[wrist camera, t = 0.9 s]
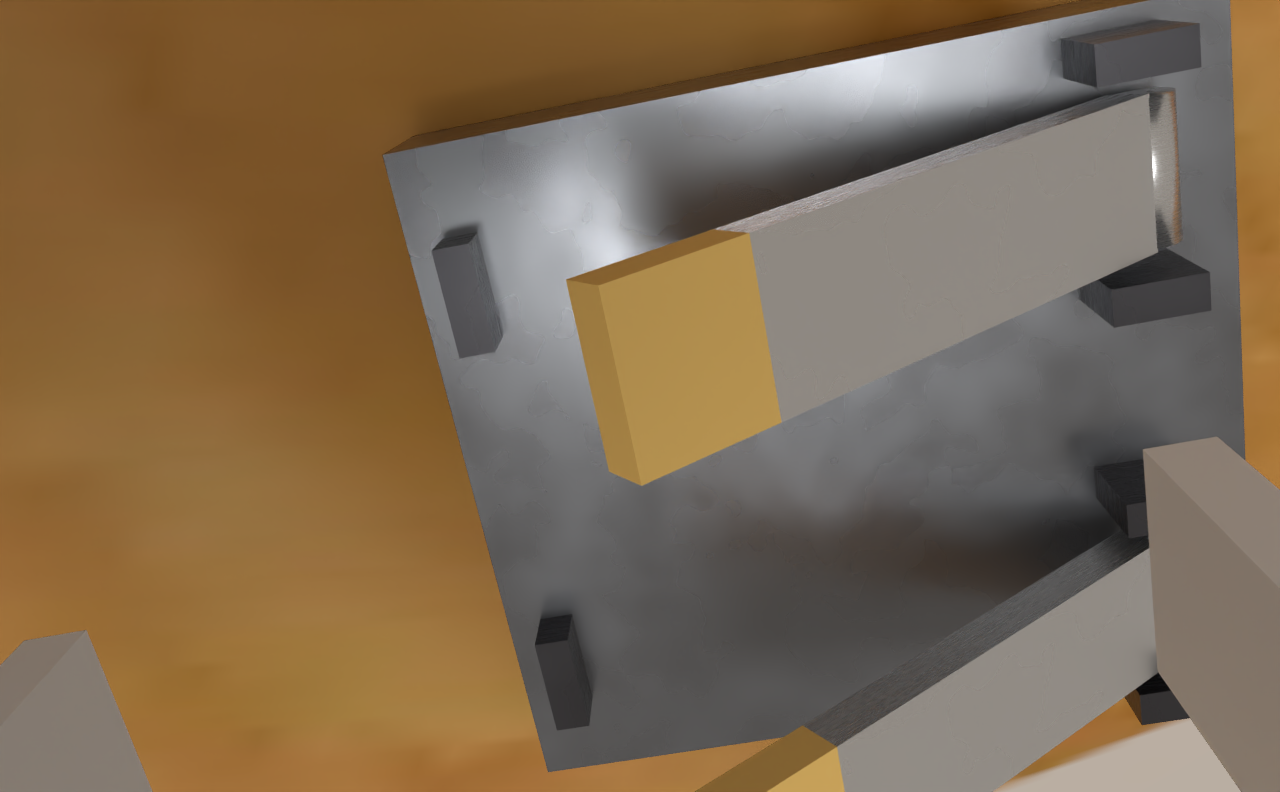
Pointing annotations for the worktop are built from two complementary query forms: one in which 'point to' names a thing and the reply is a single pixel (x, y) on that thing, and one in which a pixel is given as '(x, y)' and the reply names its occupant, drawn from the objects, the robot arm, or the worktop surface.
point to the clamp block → (837, 430)
